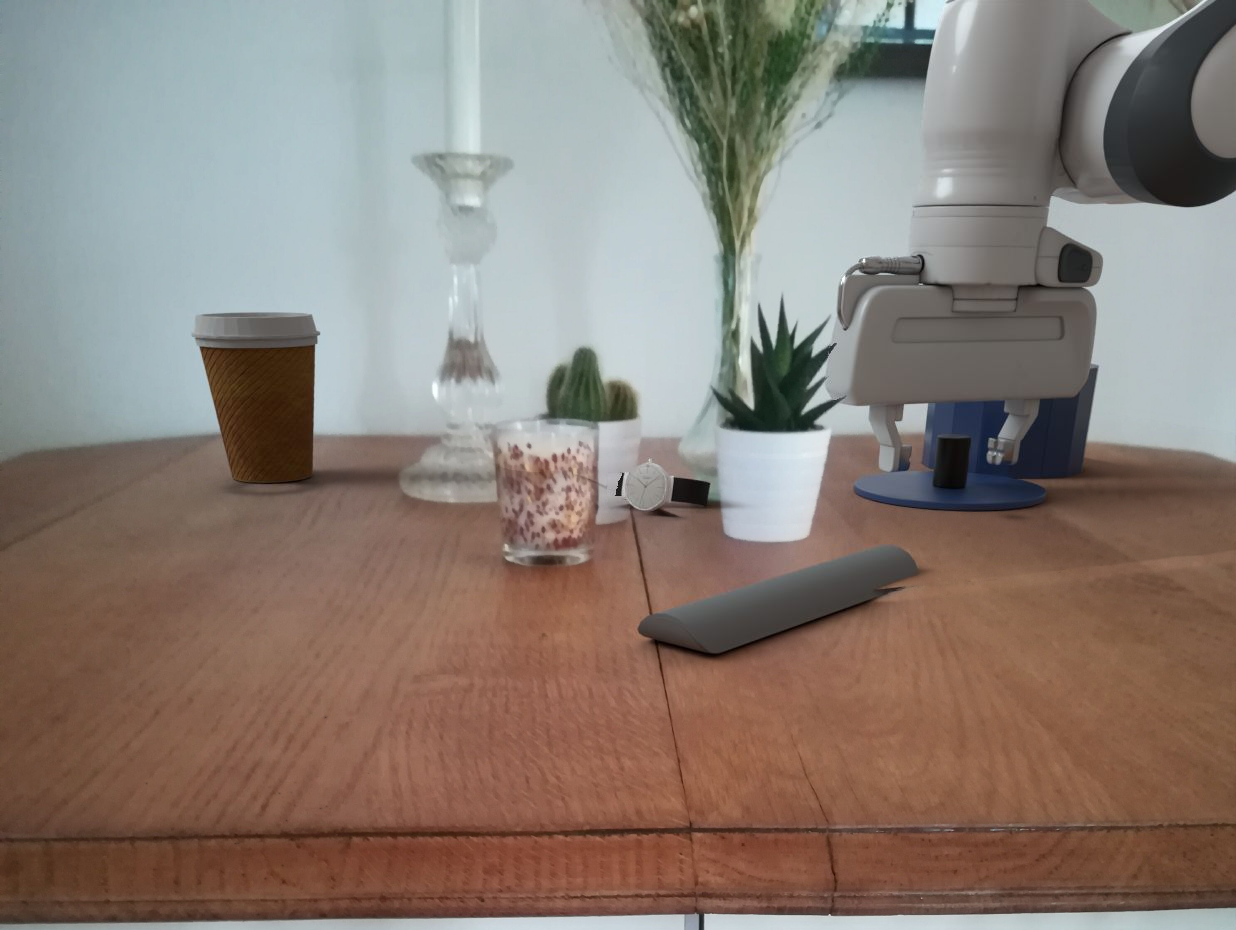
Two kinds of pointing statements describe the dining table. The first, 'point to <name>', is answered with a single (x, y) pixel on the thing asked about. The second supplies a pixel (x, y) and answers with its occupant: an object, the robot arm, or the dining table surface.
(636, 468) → the watch
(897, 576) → the half round rod
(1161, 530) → the dining table surface
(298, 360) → the disposable coffee cup
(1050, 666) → the dining table surface
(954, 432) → the pot
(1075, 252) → the robot arm
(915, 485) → the lid
